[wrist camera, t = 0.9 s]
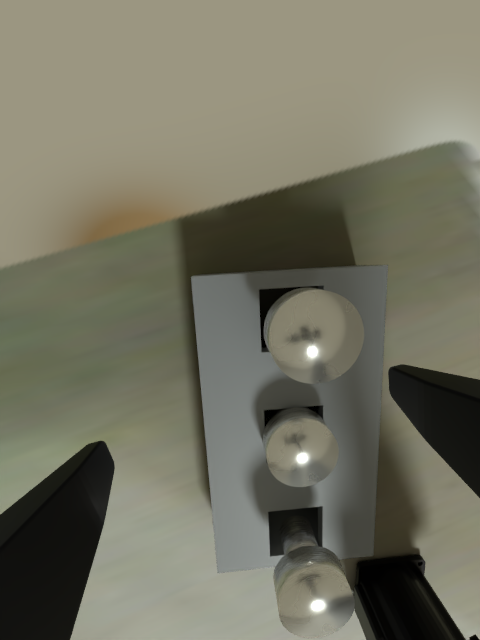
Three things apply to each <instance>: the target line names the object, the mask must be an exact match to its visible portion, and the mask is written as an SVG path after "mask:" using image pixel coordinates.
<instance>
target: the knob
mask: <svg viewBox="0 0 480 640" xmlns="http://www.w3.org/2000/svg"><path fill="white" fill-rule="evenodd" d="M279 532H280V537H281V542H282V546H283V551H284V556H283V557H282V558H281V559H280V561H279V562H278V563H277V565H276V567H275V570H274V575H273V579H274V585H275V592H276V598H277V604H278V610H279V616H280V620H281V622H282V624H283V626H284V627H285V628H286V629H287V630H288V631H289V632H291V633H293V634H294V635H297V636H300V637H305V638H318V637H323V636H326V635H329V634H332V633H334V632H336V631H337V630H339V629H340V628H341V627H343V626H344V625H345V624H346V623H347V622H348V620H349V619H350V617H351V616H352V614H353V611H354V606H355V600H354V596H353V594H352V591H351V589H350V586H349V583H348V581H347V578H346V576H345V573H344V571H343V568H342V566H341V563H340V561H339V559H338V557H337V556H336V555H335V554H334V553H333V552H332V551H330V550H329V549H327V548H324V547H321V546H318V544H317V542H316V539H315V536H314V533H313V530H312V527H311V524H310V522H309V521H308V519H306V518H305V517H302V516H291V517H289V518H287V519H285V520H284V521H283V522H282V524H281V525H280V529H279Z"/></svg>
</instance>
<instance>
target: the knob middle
mask: <svg viewBox="0 0 480 640" xmlns="http://www.w3.org/2000/svg"><path fill="white" fill-rule="evenodd" d="M270 418H271V420H270V421H269V422H268V424H267V425H266V427H265V430H264V433H263V445H264V450H265V454H266V459H267V463H268V467H269V469H270V471H271V473H272V474H273V476H274V477H275V478H276V479H277V480H279V481H280V482H282V483H284V484H286V485H289V486H293V487H306V486H311V485H314V484H316V483H318V482H320V481H322V480H323V479H325V478H326V477H327V476H328V475H329V474H330V473H331V472H332V470H333V469H334V467H335V465H336V463H337V460H338V455H339V448H338V444H337V441H336V439H335V437H334V436H333V434H332V433H331V431H330V429H329V428H328V426H327V425H326V423H325V422H324V420H323V419H322V418H321V417H320V416H319V415H318V414H317V413H316V412H314V411H312V410H310V409H307V408H302V407H293V408H285V409H273V410H271V411H270Z"/></svg>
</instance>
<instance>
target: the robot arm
mask: <svg viewBox="0 0 480 640" xmlns="http://www.w3.org/2000/svg"><path fill="white" fill-rule="evenodd" d="M388 375H389V390H390V394H391V396H392V398H393V399H394V401H395V402H396V403H397V404H398V406H399V407H400V408H401V410H402V411H403V412H404V413H405V415H406V416H407V417H408V419H409V420H410V421H411V423H412V424H413V425H414V426H415V428H416V429H417V430H418V432H419V433H420V434H421V435H422V436H423V438H424V439H425V440H426V441H427V442H428V443H429V444H430V446H431V447H432V448H433V449H434V450H435V451H436V452H437V453H438V454H439V455H440V456H441V457H442V458H443V459H444V460H445V462H446V463H447V464H448V465H449V466H450V467H451V468H452V469H453V470H454V471H455V472H456V473H457V474H458V475H459V476H460V477H461V479H462V480H463V481H464V482H465V483H466V484H467V485H468V486H469V487H470V488H471V489H472V490H473V491H474V492H475V493H476V495H477V496H478V497H479V498H480V380H478V379H473V378H468V377H463V376H458V375H453V374H448V373H443V372H438V371H433V370H428V369H423V368H418V367H414V366H409V365H397V366H394V367H391V368H390V369H389V371H388ZM113 475H114V461H113V459H112V456H111V454H110V452H109V450H108V447H107V445H106V443H105V442H104V441H98V442H94V443H90V444H88V445H86V446H85V447H84V448H83V449H81V450H80V451H79V452H78V453H76V454H75V455H74V456H73V457H71V458H70V459H69V460H68V461H67V462H65V463H64V464H63V465H62V466H60V467H59V468H58V469H57V470H55V471H54V472H53V473H52V474H50V475H49V476H48V477H47V478H45V479H44V480H43V481H42V482H40V483H39V484H38V485H37V486H35V487H34V488H33V489H32V490H30V491H29V492H28V493H27V494H25V495H24V496H23V497H22V498H21V499H19V500H18V501H17V502H16V503H14V504H13V505H12V506H11V507H9V508H8V509H7V510H6V511H4V512H3V513H2V514H1V515H0V640H70V638H71V635H72V631H73V628H74V624H75V621H76V618H77V614H78V611H79V607H80V604H81V601H82V597H83V594H84V590H85V587H86V584H87V580H88V577H89V573H90V570H91V566H92V563H93V560H94V556H95V553H96V549H97V546H98V543H99V539H100V536H101V532H102V529H103V525H104V520H105V516H106V511H107V506H108V501H109V495H110V490H111V485H112V480H113ZM424 571H425V561H424V559H423V558H422V557H421V556H420V555H415V556H406V557H397V558H388V559H379V560H371V561H362V562H359V563H358V564H357V572H356V585H355V587H354V600H355V606H354V608H355V612H356V615H357V617H358V619H359V621H360V624H361V627H362V629H363V632H364V634H365V637H366V640H466V639H465V638H464V636H463V635H462V633H461V632H460V630H459V629H458V627H457V625H456V624H455V622H454V621H453V619H452V618H451V616H450V615H449V613H448V612H447V610H446V609H445V607H444V605H443V604H442V602H441V601H440V599H439V598H438V596H437V595H436V593H435V592H434V590H433V589H432V587H431V586H430V584H429V582H428V581H427V579H426V578H425V576H424ZM469 638H470V640H479V639H478V637H477V636H476V635H473V636H471V637H469Z"/></svg>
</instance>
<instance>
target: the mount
mask: <svg viewBox="0 0 480 640" xmlns="http://www.w3.org/2000/svg"><path fill="white" fill-rule="evenodd" d="M387 273H388V265H355V266H338V267H321V268H304V269H286V270H269V271H252V272H235V273H217V274H200V275H194V276H191V283H192V295H193V306H194V317H195V328H196V339H197V350H198V361H199V372H200V383H201V394H202V405H203V417H204V428H205V439H206V450H207V461H208V472H209V483H210V494H211V505H212V516H213V527H214V539H215V550H216V561H217V572H218V573H225V572H233V571H242V570H251V569H260V568H269V567H276V565H277V563H278V562H279V561H280V559H281V558H282V557H283V556H284V551H283V546H282V542H281V537H280V532H279V529H280V525H281V524H282V522H283V521H284V520H285V519H287V518H289V517H291V516H302V517H305V518H306V519H308V521H309V522H310V524H311V527H312V530H313V533H314V536H315V539H316V542H317V544H318V546H321V547H324V548H327V549H329V550H330V551H332V552H333V553H334V554H335V555H336V556H337V557H338V559H339V560H340V559H349V558H358V557H367V556H373V553H374V533H375V513H376V493H377V473H378V453H379V433H380V413H381V393H382V373H383V353H384V333H385V313H386V293H387ZM306 286H318V289H321V290H326V291H330V292H334V293H337V294H339V295H341V296H343V297H344V298H346V299H347V300H349V301H350V302H351V303H352V304H353V305H354V306H355V308H356V309H357V311H358V312H359V314H360V316H361V319H362V322H363V327H364V341H363V346H362V349H361V352H360V354H359V356H358V358H357V360H356V361H355V363H354V364H353V365H352V366H351V367H350V368H349V369H348V370H347V371H346V372H345V373H344V374H342V375H341V376H339V377H337V378H336V379H333V380H331V381H328V382H324V383H318V384H309V383H303V382H299V381H296V380H294V379H292V378H290V377H289V376H287V375H286V374H285V373H283V372H282V371H281V370H280V368H279V367H278V366H277V364H276V363H275V361H274V359H273V357H272V355H271V354H270V352H269V350H268V348H267V347H266V348H261V329H260V305H259V289H273V288H290V287H306ZM309 406H318V415H319V416H320V417H321V418H322V419H323V420H324V422H325V423H326V425H327V426H328V428H329V429H330V431H331V433H332V434H333V436H334V437H335V439H336V441H337V444H338V448H339V455H338V460H337V463H336V465H335V467H334V469H333V470H332V472H331V473H330V474H329V475H328V476H327V477H326V478H325V479H323V480H322V481H320V482H318V483H316V484H314V485H311V486H306V487H293V486H289V485H286V484H284V483H282V482H280V481H279V480H277V479H276V478H275V477H274V476H273V474H272V473H271V471H270V469H269V467H268V463H267V459H266V454H265V450H264V445H263V433H264V430H265V424H264V410H273V409H285V408H293V407H309Z"/></svg>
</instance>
